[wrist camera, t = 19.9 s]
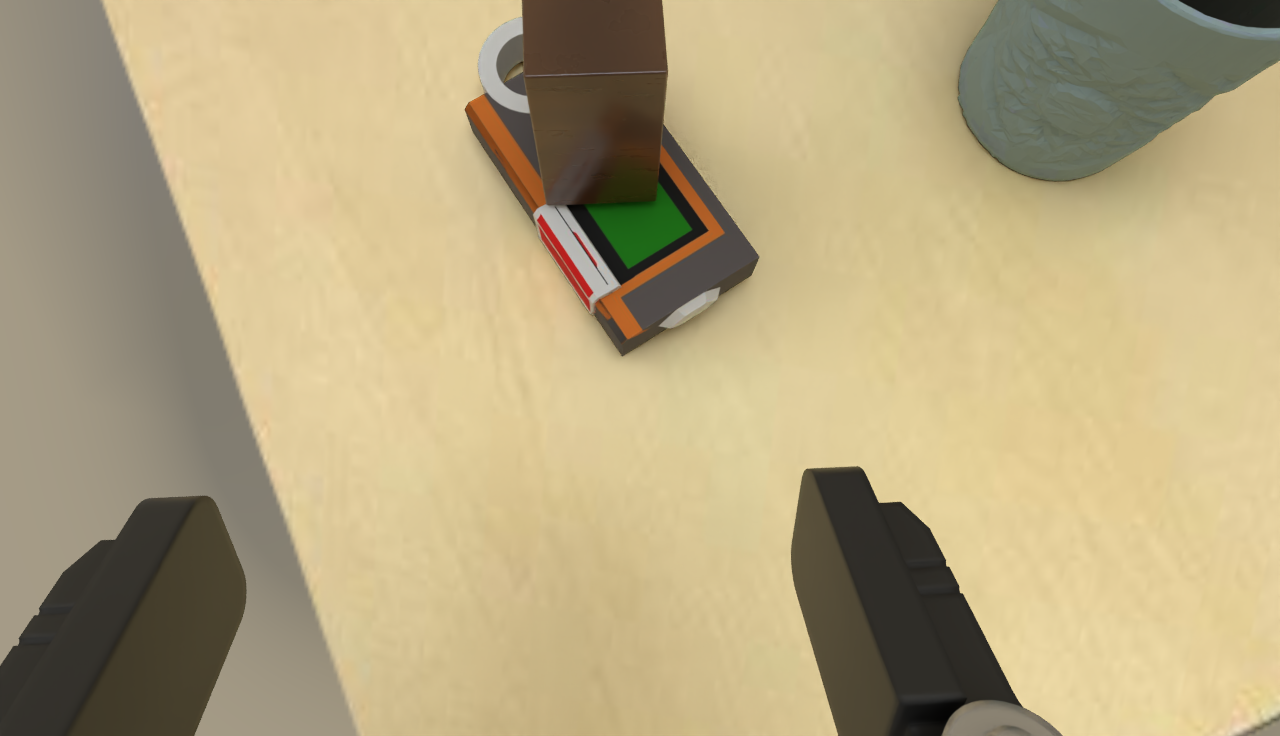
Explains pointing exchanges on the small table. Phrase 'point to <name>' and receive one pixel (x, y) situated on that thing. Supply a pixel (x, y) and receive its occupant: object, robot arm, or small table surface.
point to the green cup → (1104, 75)
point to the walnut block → (596, 97)
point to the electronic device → (613, 218)
